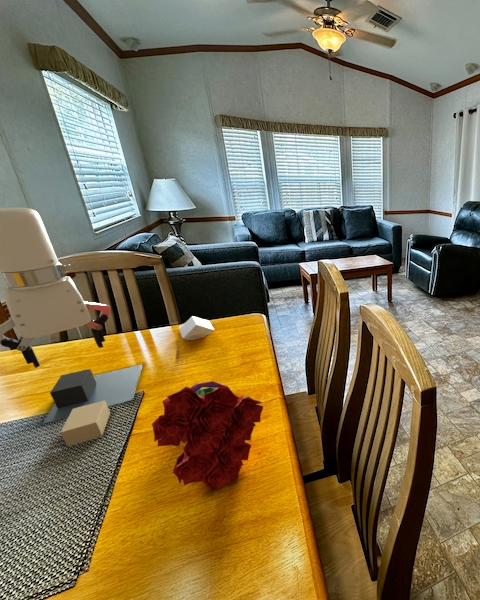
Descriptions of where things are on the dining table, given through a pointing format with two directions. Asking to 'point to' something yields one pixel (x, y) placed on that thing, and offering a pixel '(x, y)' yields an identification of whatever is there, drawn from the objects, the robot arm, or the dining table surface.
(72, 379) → the back pad left
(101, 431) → the loose pad
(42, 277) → the robot arm
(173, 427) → the bouquet
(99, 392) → the board
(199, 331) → the wedge on round base
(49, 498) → the dining table surface
